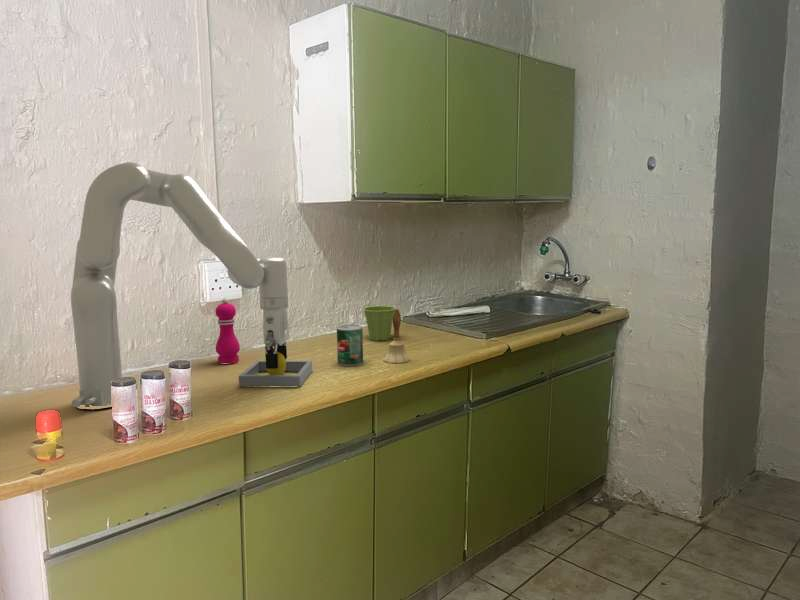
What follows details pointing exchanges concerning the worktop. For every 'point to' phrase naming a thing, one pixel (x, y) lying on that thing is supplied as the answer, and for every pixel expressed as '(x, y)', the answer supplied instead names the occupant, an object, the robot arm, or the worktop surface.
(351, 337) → the canned tomato
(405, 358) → the hand bell
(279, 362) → the lemon
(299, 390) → the worktop surface
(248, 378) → the box
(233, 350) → the pepper mill
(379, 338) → the plant pot
